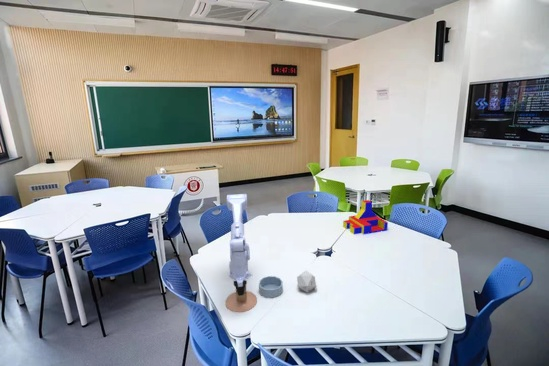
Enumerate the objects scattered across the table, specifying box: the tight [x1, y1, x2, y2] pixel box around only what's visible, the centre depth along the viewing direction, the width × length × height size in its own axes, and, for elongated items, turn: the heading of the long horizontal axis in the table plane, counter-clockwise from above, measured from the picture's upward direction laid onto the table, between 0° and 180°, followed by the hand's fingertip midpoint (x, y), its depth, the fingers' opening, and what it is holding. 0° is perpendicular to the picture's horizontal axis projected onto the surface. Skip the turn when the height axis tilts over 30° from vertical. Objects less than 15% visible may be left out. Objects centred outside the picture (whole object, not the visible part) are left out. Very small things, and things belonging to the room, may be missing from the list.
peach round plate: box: [225, 290, 258, 313], centre depth 128 cm, size 14×14×1 cm
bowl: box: [258, 275, 284, 299], centre depth 134 cm, size 11×11×4 cm
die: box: [296, 270, 317, 293], centre depth 135 cm, size 8×9×10 cm
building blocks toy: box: [342, 199, 389, 235], centre depth 201 cm, size 19×25×18 cm
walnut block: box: [235, 279, 247, 301], centre depth 126 cm, size 4×4×7 cm
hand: (240, 291), depth 126 cm, fingers closed on walnut block, 4 cm apart
